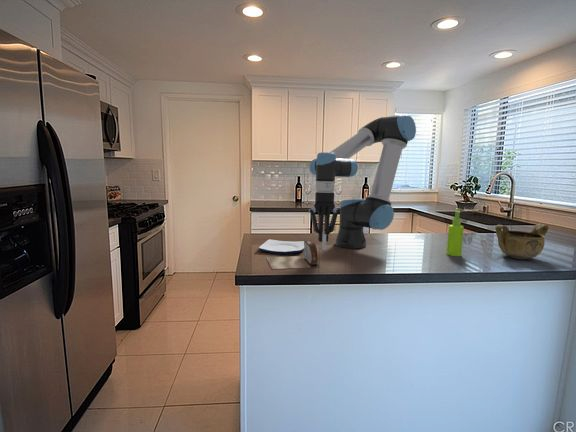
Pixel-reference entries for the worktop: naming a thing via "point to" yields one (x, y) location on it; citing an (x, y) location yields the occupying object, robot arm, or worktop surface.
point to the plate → (282, 247)
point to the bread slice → (310, 252)
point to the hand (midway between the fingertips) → (322, 249)
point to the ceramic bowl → (521, 241)
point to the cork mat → (287, 262)
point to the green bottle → (455, 236)
